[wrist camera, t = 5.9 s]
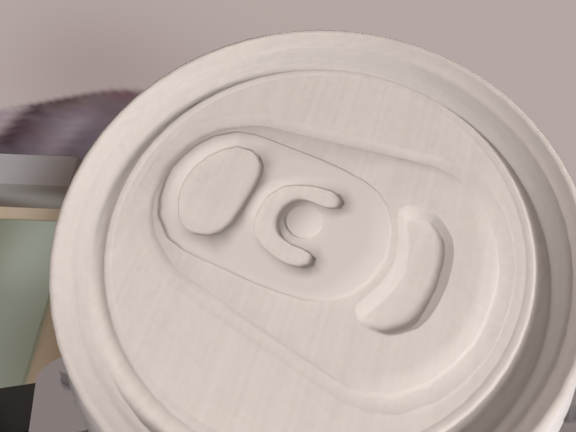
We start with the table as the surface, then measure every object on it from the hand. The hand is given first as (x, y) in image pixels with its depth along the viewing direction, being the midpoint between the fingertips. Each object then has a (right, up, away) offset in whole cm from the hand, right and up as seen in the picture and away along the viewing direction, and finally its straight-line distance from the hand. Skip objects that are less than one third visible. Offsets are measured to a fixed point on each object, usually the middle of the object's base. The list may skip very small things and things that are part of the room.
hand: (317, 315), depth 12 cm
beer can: (0, -4, +6) cm, 8 cm away
